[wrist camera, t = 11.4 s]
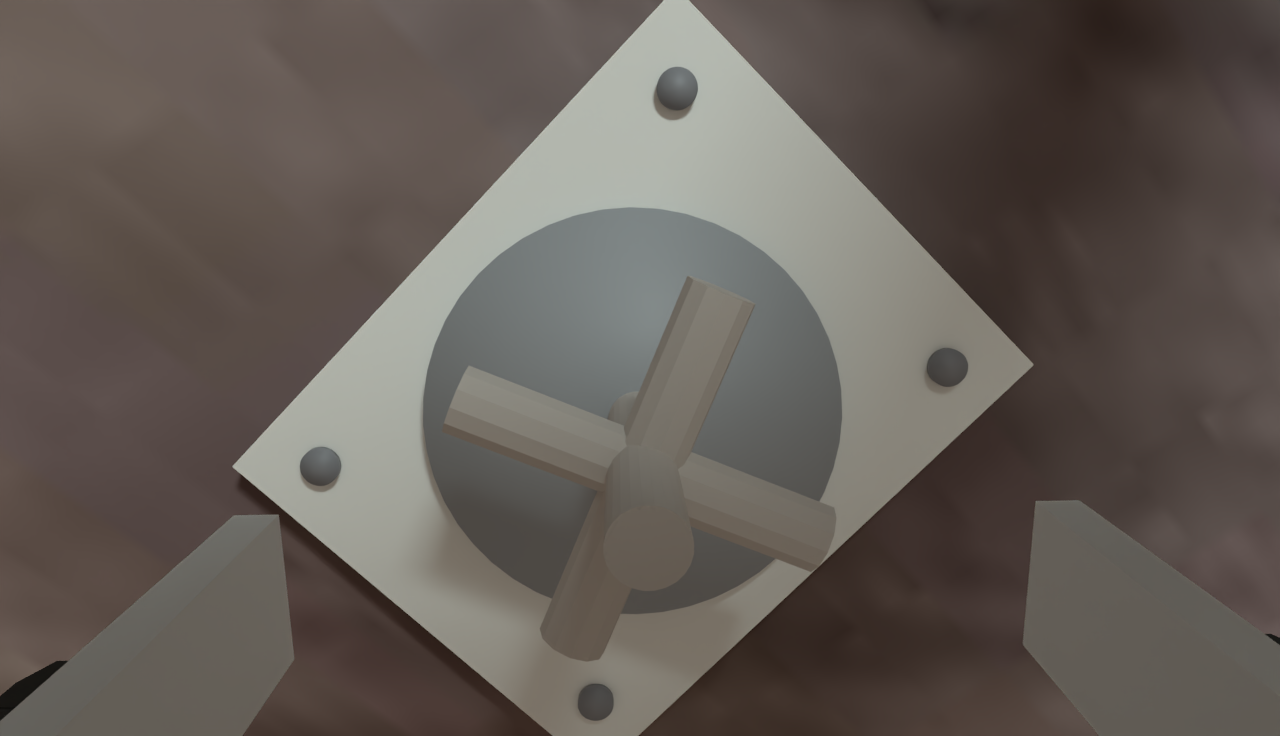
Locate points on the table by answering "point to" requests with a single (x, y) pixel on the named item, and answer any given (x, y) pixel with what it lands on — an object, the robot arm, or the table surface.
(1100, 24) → the table surface
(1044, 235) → the table surface
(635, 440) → the pipe connector
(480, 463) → the duct panel
